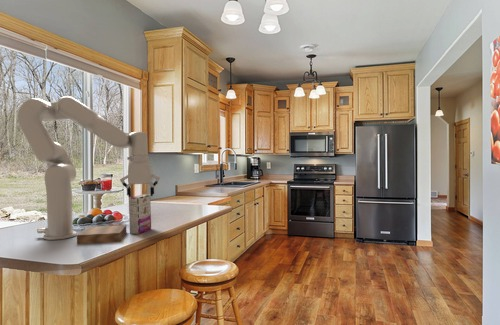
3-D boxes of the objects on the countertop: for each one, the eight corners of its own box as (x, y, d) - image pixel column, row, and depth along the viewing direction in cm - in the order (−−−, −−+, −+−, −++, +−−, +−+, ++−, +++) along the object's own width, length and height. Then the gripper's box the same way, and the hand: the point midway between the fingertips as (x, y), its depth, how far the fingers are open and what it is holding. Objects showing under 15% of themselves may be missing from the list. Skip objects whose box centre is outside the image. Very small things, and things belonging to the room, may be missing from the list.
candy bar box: (141, 228, 159) (141, 194, 158) (151, 229, 158) (150, 194, 157) (128, 234, 148) (128, 197, 147) (139, 234, 147) (138, 197, 146)
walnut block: (77, 245, 132) (76, 235, 132) (88, 235, 147) (88, 226, 147) (119, 242, 135) (119, 232, 135) (126, 233, 150) (126, 225, 150)
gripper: (117, 159, 147) (119, 198, 147) (158, 158, 150) (159, 196, 150) (121, 159, 154) (122, 196, 154) (159, 158, 157) (160, 194, 158)
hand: (140, 196), depth 152 cm, fingers open, 9 cm apart
